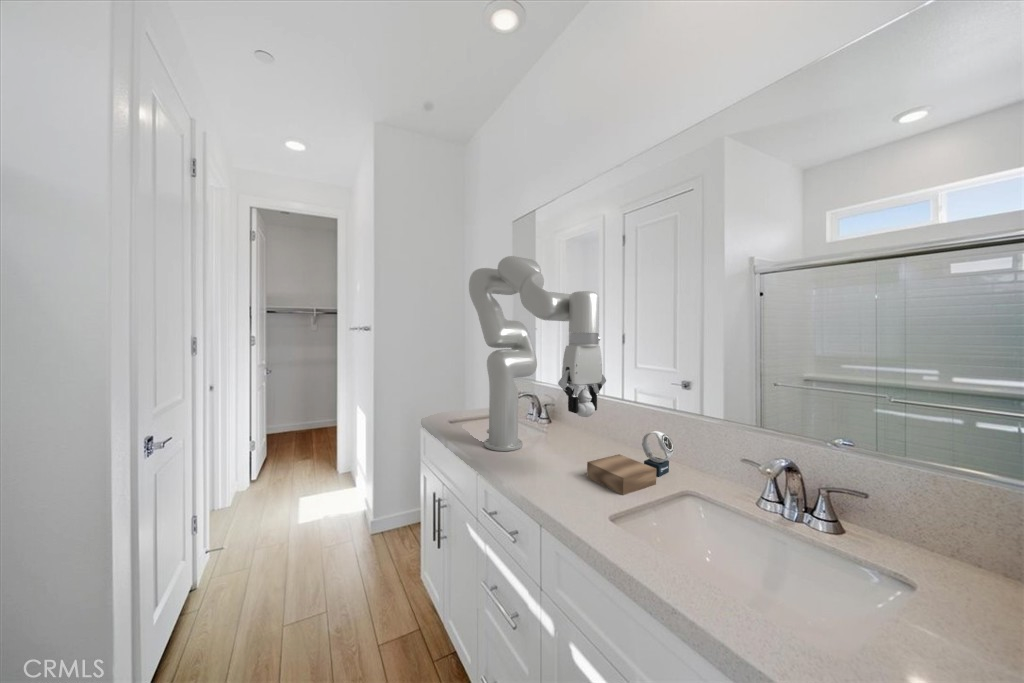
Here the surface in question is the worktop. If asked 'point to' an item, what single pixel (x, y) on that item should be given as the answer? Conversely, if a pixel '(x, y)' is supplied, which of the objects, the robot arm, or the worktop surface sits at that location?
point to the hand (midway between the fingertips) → (582, 410)
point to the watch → (655, 462)
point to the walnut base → (621, 473)
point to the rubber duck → (585, 404)
